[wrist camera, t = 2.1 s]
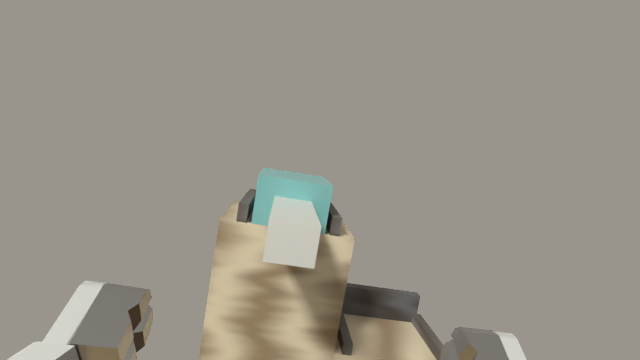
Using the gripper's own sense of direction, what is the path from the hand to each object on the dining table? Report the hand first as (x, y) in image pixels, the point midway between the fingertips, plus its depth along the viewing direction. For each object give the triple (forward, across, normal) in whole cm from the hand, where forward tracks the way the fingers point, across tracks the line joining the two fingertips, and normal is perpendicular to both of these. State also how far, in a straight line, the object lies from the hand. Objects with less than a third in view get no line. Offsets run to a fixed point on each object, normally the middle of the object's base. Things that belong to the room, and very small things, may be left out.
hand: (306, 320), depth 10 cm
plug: (+16, 0, -12) cm, 20 cm away
